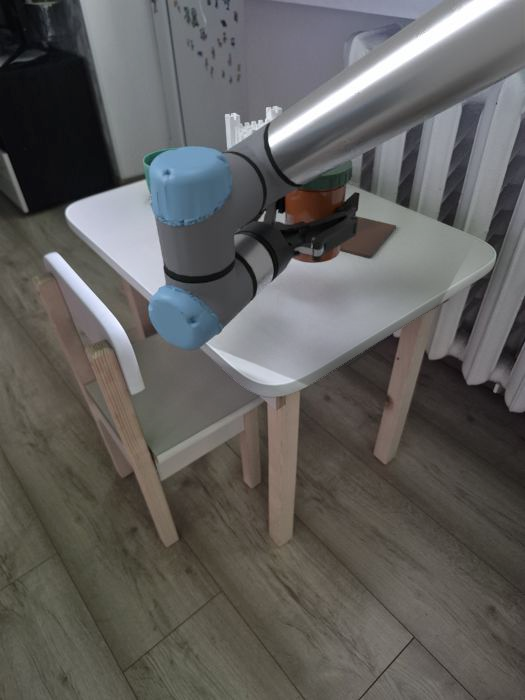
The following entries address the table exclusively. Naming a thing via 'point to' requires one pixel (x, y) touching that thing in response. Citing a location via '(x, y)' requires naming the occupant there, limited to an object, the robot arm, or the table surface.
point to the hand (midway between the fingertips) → (327, 195)
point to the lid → (332, 178)
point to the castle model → (246, 126)
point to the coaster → (367, 237)
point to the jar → (313, 211)
